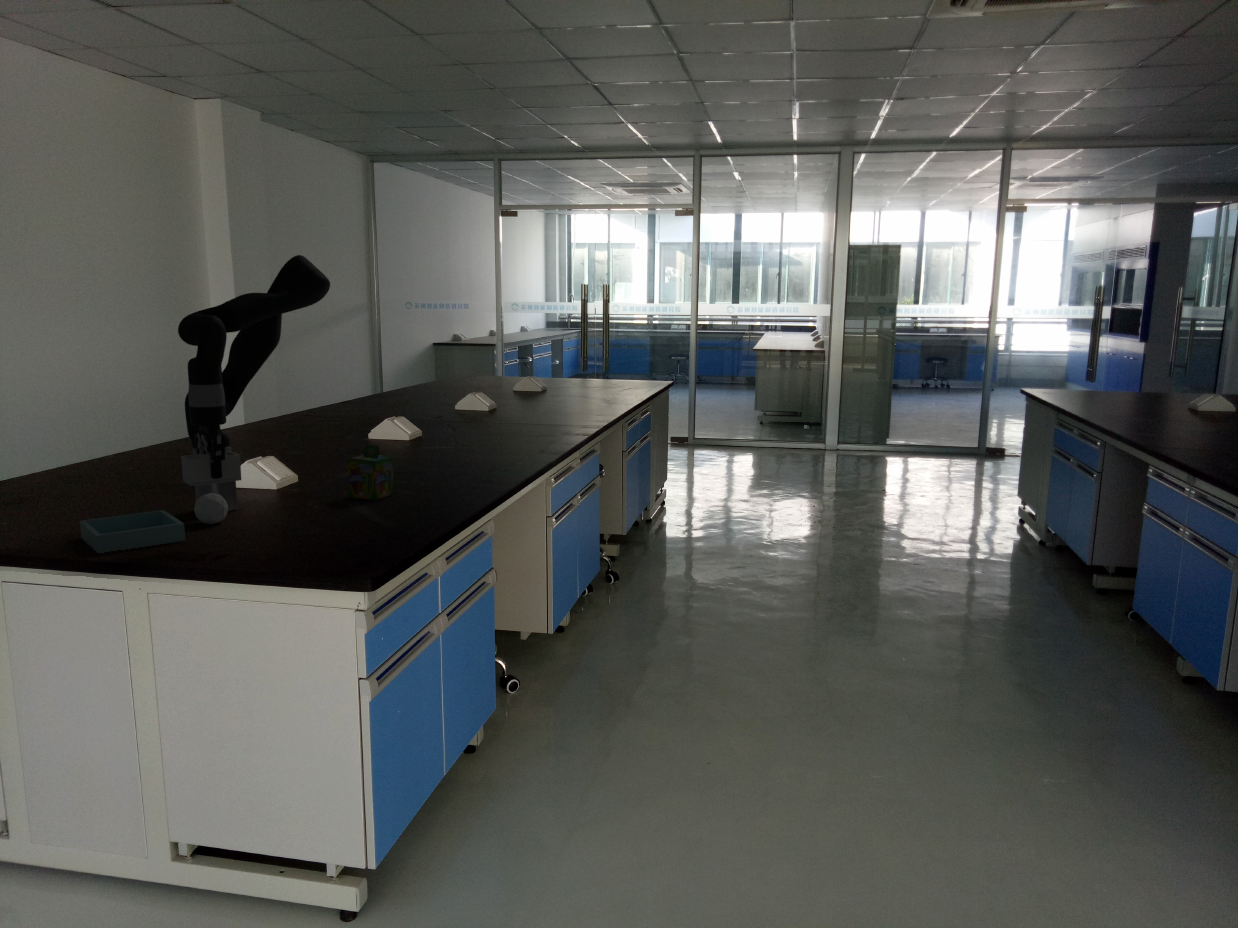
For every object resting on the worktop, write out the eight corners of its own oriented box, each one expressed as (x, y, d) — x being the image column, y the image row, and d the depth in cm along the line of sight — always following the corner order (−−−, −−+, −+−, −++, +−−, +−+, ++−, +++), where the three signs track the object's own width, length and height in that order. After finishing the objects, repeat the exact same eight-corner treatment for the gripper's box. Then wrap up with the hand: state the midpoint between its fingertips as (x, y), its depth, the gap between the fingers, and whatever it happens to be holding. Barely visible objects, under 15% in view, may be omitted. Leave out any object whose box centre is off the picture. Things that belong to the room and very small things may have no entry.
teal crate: (164, 527, 220) (163, 509, 219) (185, 542, 207) (184, 523, 207) (81, 539, 208) (79, 520, 207) (98, 555, 196) (96, 535, 195)
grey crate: (232, 476, 211) (231, 451, 210) (241, 480, 206) (239, 454, 205) (183, 481, 204) (181, 455, 202) (191, 486, 199) (189, 459, 198)
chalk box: (348, 498, 253) (346, 447, 250) (367, 492, 261) (366, 442, 259) (375, 501, 250) (373, 449, 247) (394, 494, 258) (393, 444, 256)
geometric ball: (203, 533, 223) (185, 507, 223) (233, 518, 228) (215, 492, 228) (206, 525, 217) (188, 498, 217) (236, 509, 222) (218, 483, 222)
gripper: (235, 405, 199) (239, 479, 202) (214, 399, 209) (218, 469, 213) (199, 408, 194) (204, 483, 197) (179, 401, 204) (185, 473, 208)
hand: (212, 475), depth 205 cm, fingers closed on grey crate, 6 cm apart
